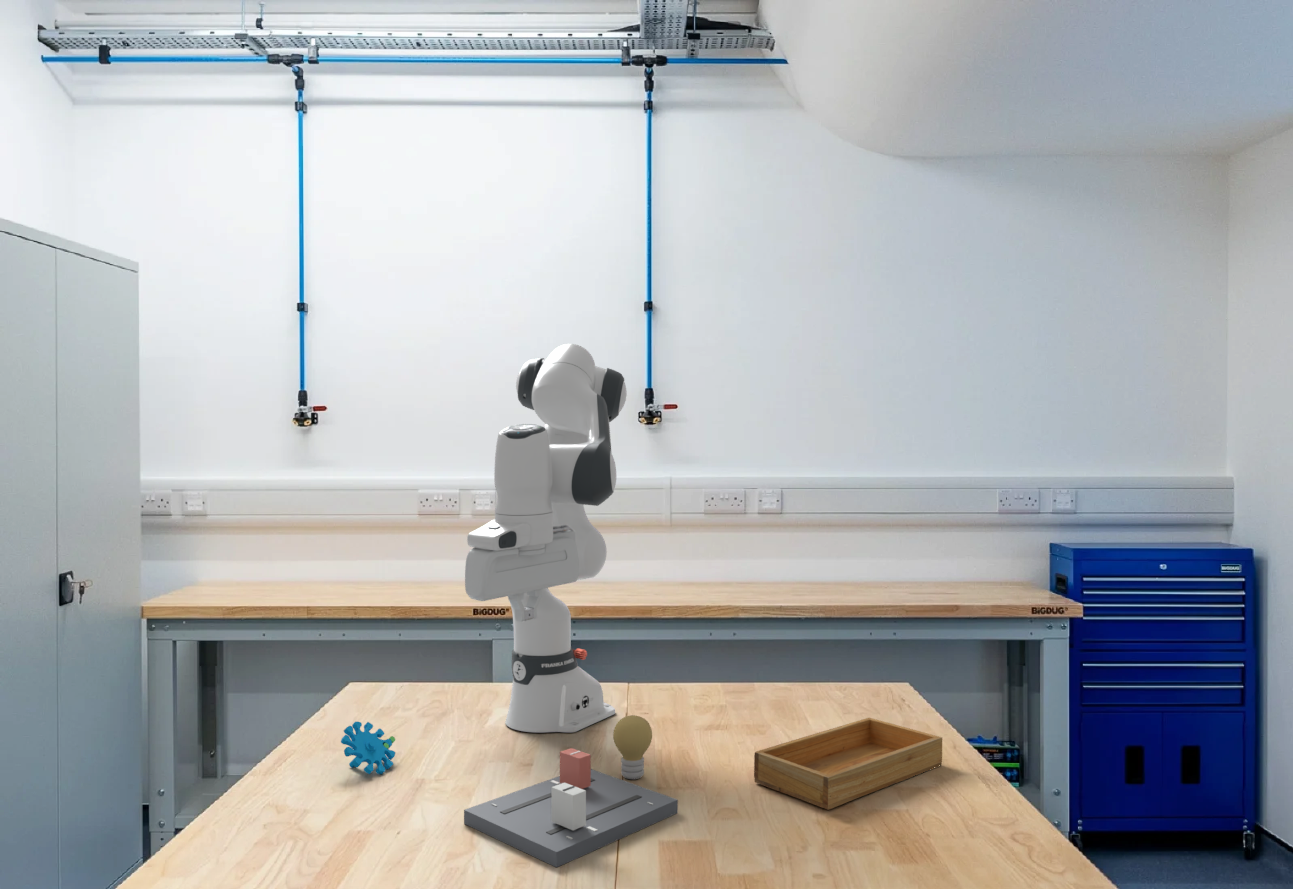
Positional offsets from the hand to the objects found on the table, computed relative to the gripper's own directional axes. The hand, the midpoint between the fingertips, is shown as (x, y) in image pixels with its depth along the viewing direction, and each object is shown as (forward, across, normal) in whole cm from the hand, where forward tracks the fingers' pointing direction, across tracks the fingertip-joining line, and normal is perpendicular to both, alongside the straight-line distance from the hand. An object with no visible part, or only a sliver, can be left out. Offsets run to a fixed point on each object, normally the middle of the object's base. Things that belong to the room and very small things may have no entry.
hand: (525, 619), depth 144 cm
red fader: (+25, -4, +6) cm, 27 cm away
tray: (+29, -42, +32) cm, 61 cm away
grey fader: (+25, +7, +16) cm, 30 cm away
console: (+27, +1, +12) cm, 30 cm away
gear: (+28, +11, -28) cm, 41 cm away
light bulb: (+28, -17, +6) cm, 34 cm away
